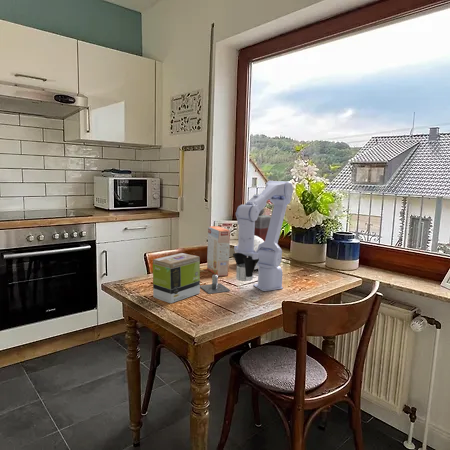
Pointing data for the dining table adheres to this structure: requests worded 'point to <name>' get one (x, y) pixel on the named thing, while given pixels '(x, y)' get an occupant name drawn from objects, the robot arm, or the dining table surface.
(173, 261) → the tea box
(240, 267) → the collar
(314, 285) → the dining table surface
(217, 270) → the cracker box
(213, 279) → the duct stub
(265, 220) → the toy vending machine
